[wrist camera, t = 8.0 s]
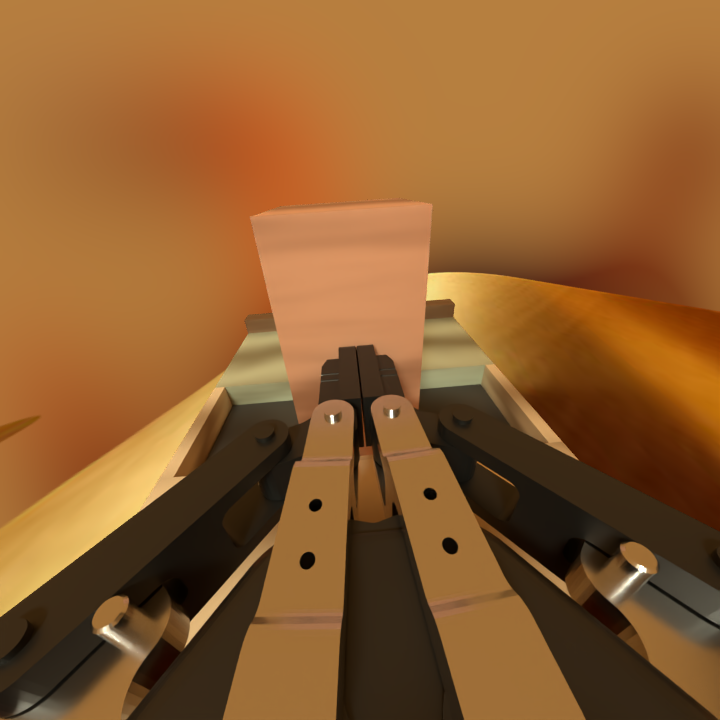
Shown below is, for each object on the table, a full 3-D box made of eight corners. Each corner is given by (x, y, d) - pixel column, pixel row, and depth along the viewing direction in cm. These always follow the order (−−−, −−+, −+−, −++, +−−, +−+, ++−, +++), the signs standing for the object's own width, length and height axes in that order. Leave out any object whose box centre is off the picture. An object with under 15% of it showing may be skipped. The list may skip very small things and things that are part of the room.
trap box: (698, 657, 10) (769, 621, 8) (53, 730, 9) (-30, 709, 7) (446, 328, 33) (450, 299, 31) (256, 343, 32) (248, 314, 30)
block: (415, 450, 16) (432, 204, 9) (307, 461, 15) (249, 216, 9) (396, 385, 21) (398, 198, 14) (314, 393, 21) (280, 206, 14)
